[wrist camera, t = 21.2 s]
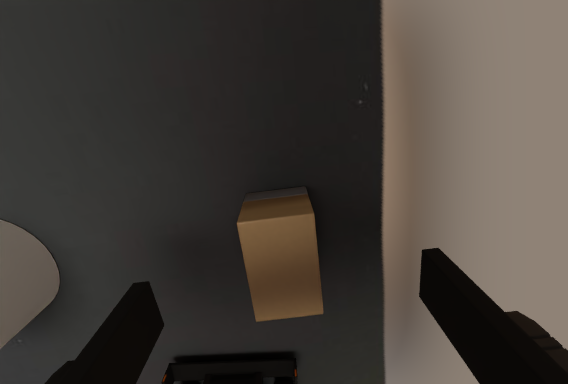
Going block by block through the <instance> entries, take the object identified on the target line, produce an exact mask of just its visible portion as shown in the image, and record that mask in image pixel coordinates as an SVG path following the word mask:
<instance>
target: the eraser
mask: <svg viewBox="0 0 568 384" xmlns="http://www.w3.org/2000/svg"><path fill="white" fill-rule="evenodd" d="M237 228H238V233H239V238H240V243H241V248H242V253H243V258H244V263H245V268H246V273H247V278H248V283H249V288H250V293H251V298H252V303H253V308H254V313H255V318H256V321H257V322H259V321H267V320H276V319H284V318H293V317H301V316H310V315H318V314H323V302H322V291H321V280H320V269H319V259H318V248H317V237H316V227H315V216H314V211H313V208H312V205H311V202H310V199H309V196H308V193H307V190H306V187H305V186H303V187H295V188H287V189H279V190H270V191H262V192H254V193H246V195H245V198H244V201H243V205H242V208H241V211H240V214H239V218H238V221H237Z"/></svg>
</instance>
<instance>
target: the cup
mask: <svg viewBox="0 0 568 384" xmlns="http://www.w3.org/2000/svg"><path fill="white" fill-rule="evenodd" d="M59 284H60V277H59V271H58V268H57V265H56V262H55V261H54V259H53V257H52V255H51V254H50V252H49V251H48V250H47V249H46V247H45V246H44V245H43V244H42V243H41V242H40V241H39V240H38V239H36V238H35V237H34V236H33V235H31V234H30V233H28V232H27V231H25V230H24V229H22V228H20V227H18V226H16V225H14V224H12V223H9V222H6V221H3V220H0V349H1V348H2V347H3V346H4V345H5V344H6V343H7V342H9V341H10V340H11V339H12V338H13V337H14V336H15V335H16V334H17V333H18V332H19V331H20V330H22V329H23V328H24V327H25V326H26V325H27V324H28V323H29V322H30V321H31V320H32V319H34V318H35V317H36V316H37V315H38V314H39V313H40V312H41V311H42V310H43V309H44V308H45V307H47V306H48V305H49V304H50V303H51V302H52V300H53V299H54V298H55V296H56V294H57V292H58V289H59Z"/></svg>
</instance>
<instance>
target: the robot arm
mask: <svg viewBox="0 0 568 384" xmlns="http://www.w3.org/2000/svg"><path fill="white" fill-rule="evenodd" d="M419 297H420V298H421V300H422V301H423V303H424V304H425V305H426V307H427V308H428V310H429V311H430V313H431V314H432V315H433V317H434V318H435V320H436V321H437V323H438V324H439V326H440V327H441V329H442V330H443V332H444V333H445V334H446V336H447V337H448V339H449V340H450V342H451V343H452V345H453V346H454V347H455V349H456V350H457V352H458V353H459V355H460V356H461V358H462V359H463V360H464V362H465V363H466V364H467V366H468V368H469V369H470V370H471V372H472V373H473V375H474V376H475V378H476V379H477V381H478V382H479V383H480V384H568V350H566V349H564V348H563V347H562V345H561V344H560V343H559V342H558V341H557V340H555V339H554V338H553V337H550V334H549V333H548V332H546V331H545V330H544V329H543V328H542V327H541V326H540V325H538V324H537V323H536V322H535V321H534V320H532V319H530V318H528V317H526V316H525V315H523V314H521V313H519V312H518V311H512V312H504V311H503V310H502V309H501V308H500V307H499V306H498V305H497V304H496V303H495V302H494V301H493V300H492V299H491V298H490V297H489V296H487V295H486V294H485V293H484V292H483V291H482V290H481V289H480V288H479V287H478V286H477V285H476V284H475V283H474V282H473V281H472V280H471V279H470V278H469V277H468V276H467V275H466V274H465V273H464V272H463V271H462V270H461V269H459V267H458V266H457V265H456V264H454V263H453V262H452V261H451V260H450V259H449V258H448V257H447V256H446V255H445V254H444V253H443V252H442V251H441V250H440V249H439V248H433V249H424V250H422V258H421V275H420V293H419ZM163 327H164V323H163V320H162V317H161V314H160V311H159V308H158V305H157V303H156V300H155V297H154V294H153V291H152V288H151V286H150V283H149V281H147V282H139V283H133V284H132V286H131V287H130V288H129V290H128V291H127V292H126V294H125V295H124V296H123V298H122V299H121V300H120V301H119V303H118V304H117V305H116V307H115V308H114V309H113V311H112V312H111V313H110V315H109V316H108V317H107V319H106V320H105V321H104V323H103V324H102V325H101V326H100V328H99V329H98V330H97V332H96V333H95V334H94V336H93V337H92V338H91V340H90V341H89V342H88V344H87V345H86V346H85V348H84V349H83V350H82V351H81V353H80V354H79V355H78V357H77V358H76V359H75V360H74V361H67V362H66V363H65V364H64V365H63V366H62V367H61V368H59V369H58V370H57V371H56V372H55V373H54V374H52V375H51V377H50V378H49V379H48V380H47V382H46V383H45V384H136V382H137V380H138V378H139V376H140V374H141V372H142V370H143V368H144V366H145V364H146V362H147V360H148V358H149V356H150V354H151V352H152V349H153V347H154V345H155V343H156V341H157V339H158V337H159V335H160V333H161V331H162V329H163Z"/></svg>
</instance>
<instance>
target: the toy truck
mask: <svg viewBox="0 0 568 384" xmlns="http://www.w3.org/2000/svg"><path fill="white" fill-rule="evenodd" d="M287 376H294V383H293V381H290V382H275V383H274V384H297V366H296V358H291V359H266V360H241V361H216V362H191V363H169V365H168V368H167V370H166V373H165V375H164V378H163V380H162V384H173V383H174V381H190V380H204V382H203V384H263V381H262V377H287Z"/></svg>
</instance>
